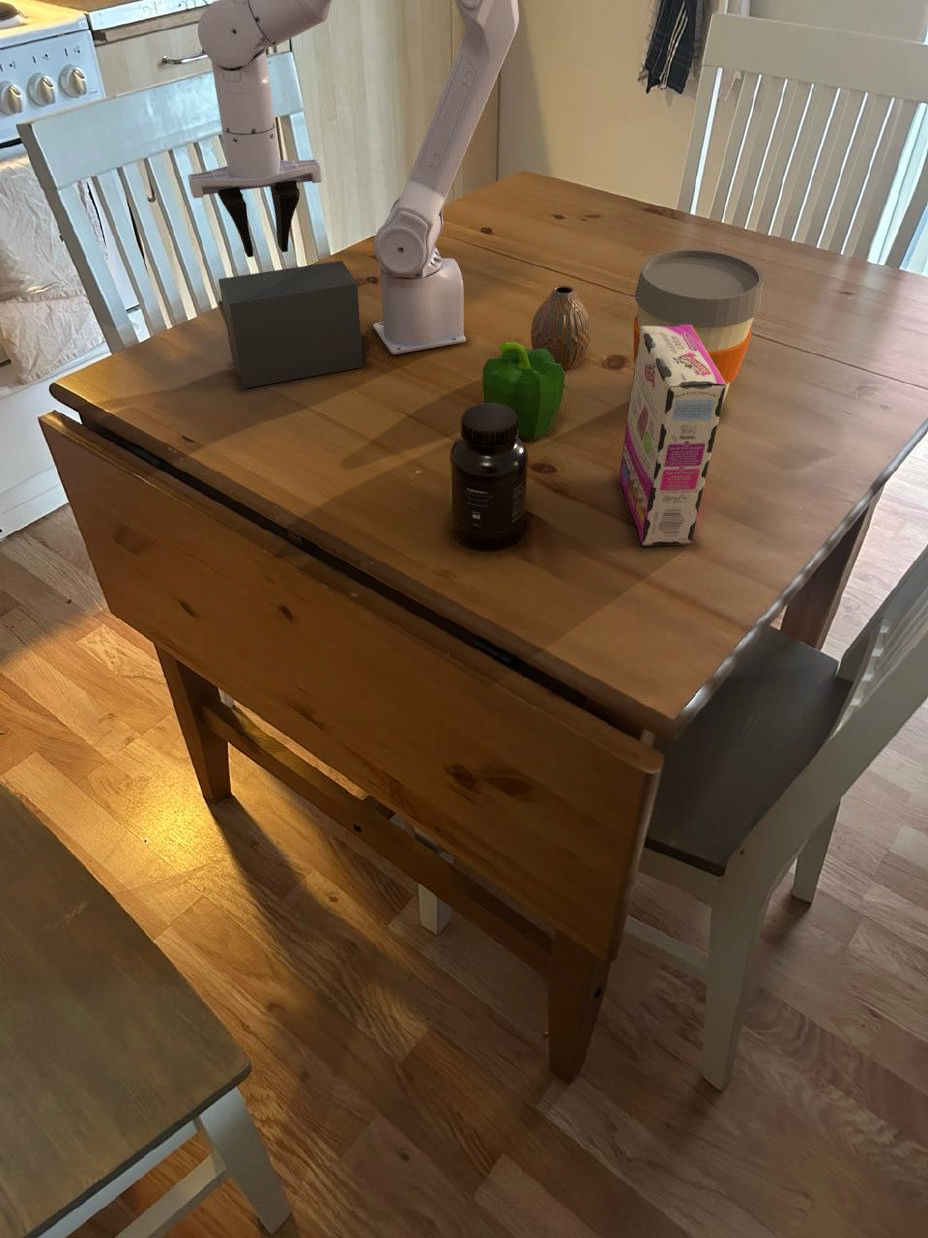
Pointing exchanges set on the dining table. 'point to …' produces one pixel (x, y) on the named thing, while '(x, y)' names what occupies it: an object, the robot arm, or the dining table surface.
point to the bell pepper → (525, 387)
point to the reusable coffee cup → (702, 301)
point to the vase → (562, 327)
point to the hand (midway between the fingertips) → (266, 251)
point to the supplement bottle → (488, 478)
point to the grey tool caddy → (292, 323)
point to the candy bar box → (669, 433)
